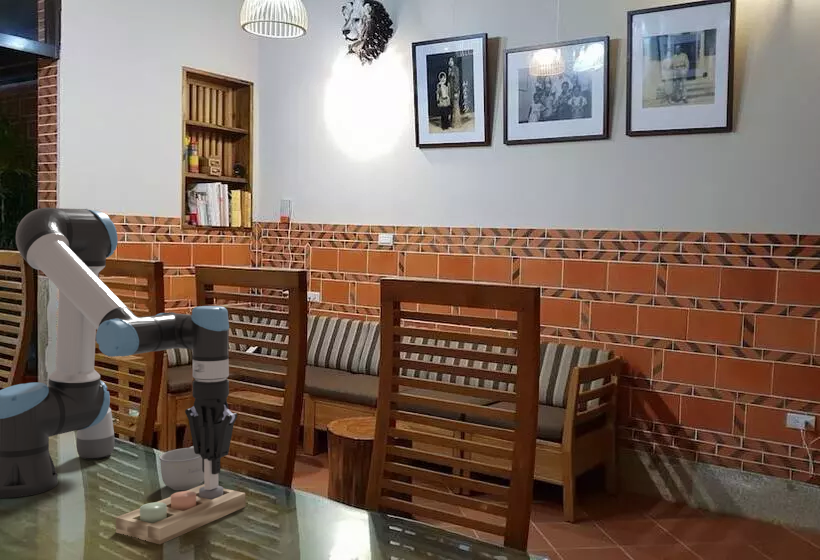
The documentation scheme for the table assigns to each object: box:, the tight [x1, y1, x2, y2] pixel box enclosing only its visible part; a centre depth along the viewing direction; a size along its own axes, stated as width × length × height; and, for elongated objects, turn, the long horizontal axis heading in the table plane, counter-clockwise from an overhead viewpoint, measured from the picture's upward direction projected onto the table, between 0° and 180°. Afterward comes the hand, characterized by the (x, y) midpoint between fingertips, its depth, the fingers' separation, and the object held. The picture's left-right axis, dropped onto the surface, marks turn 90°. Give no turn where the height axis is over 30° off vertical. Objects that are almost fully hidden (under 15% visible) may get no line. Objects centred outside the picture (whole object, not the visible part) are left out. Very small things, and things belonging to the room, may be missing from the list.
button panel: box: [115, 483, 246, 545], centre depth 158 cm, size 12×24×3 cm, turn 151°
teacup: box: [159, 445, 204, 491], centre depth 180 cm, size 14×11×8 cm
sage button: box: [139, 501, 167, 524], centre depth 151 cm, size 5×5×3 cm
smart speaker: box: [75, 406, 116, 461], centre depth 203 cm, size 10×9×14 cm
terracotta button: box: [170, 490, 196, 511], centre depth 158 cm, size 5×5×3 cm
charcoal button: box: [199, 485, 224, 500], centre depth 165 cm, size 5×5×3 cm
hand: (211, 487), depth 165 cm, fingers closed
